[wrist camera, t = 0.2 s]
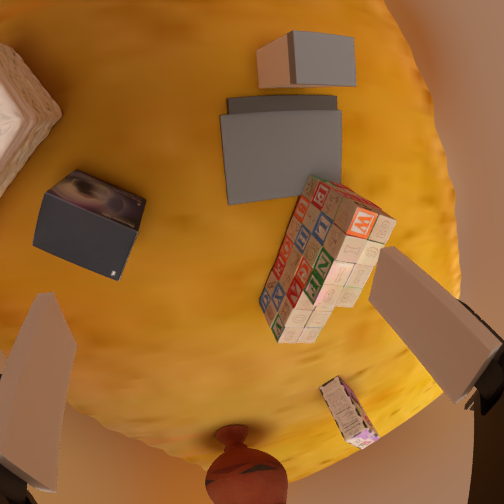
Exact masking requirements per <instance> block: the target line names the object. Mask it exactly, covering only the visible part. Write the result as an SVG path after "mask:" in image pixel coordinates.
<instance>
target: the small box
mask: <svg viewBox="0 0 504 504" xmlns="http://www.w3.org/2000/svg"><path fill="white" fill-rule="evenodd" d="M145 204H146V200H145V199H143V198H140V197H138V196H136V195H134V194H131V193H129V192H127V191H124V190H122V189H120V188H118V187H115V186H113V185H111V184H108V183H106V182H104V181H101V180H99V179H97V178H95V177H92V176H90V175H88V174H85V173H83V172H81V171H78V170H75V171H73V172H72V173H71V174H69V175H68V176H67V177H65V178H64V179H63V180H61V181H60V182H59V183H57V184H56V185H55V186H54V187H52V188H51V189H50V190H48V191H47V192H46V193H45V194H44V197H43V200H42V204H41V208H40V212H39V215H38V220H37V224H36V229H35V234H34V239H33V246H35V247H37V248H39V249H41V250H44V251H46V252H48V253H50V254H53V255H55V256H57V257H60V258H62V259H64V260H67V261H69V262H71V263H74V264H76V265H79V266H81V267H83V268H86V269H88V270H91V271H93V272H96V273H98V274H101V275H103V276H106V277H109V278H111V279H114V280H116V281H119V280H120V278H121V275H122V272H123V270H124V267H125V265H126V262H127V259H128V257H129V255H130V252H131V250H132V247H133V244H134V242H135V240H136V238H137V235H138V231H139V227H140V223H141V219H142V214H143V211H144V207H145Z"/></svg>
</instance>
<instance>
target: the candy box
mask: <svg viewBox="0 0 504 504" xmlns="http://www.w3.org/2000/svg"><path fill="white" fill-rule="evenodd" d="M319 389H320V391H321V393H322V395H323V397H324V399H325V401H326V403H327V405H328V407H329V409H330V411H331V413H332V415H333V417H334V419H335V421H336V424H337V425H338V428H339V430H340V432H341V434H342V436H343V438H344V439H345V441H346V442H348V443H350V444H352V445H354V446H356V447H358V448H360V449H363V448H365V447H367V446H369V445H370V444H372V443H373V442H375V441H376V440H378V439H380V436H379V435H378V433H377V431H376V430H375V428H374V426H373V425H372V423H371V421H370V420H369V418H368V416H367V415H366V413H365V411H364V410H363V408H362V406H361V404H360V403H359V401H358V399H357V398H356V396H355V394H354V392H353V391H352V390H351V389H350V388H349V387H348V386H347V385H346V384H345V383H344V382H343V381H342V379H341V378H340V377H339V376H337V377H335V378H333V379H332V380H330V381H329V382H327V383H325V384H324V385H322V386H320V387H319Z"/></svg>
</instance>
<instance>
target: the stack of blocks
mask: <svg viewBox="0 0 504 504" xmlns="http://www.w3.org/2000/svg"><path fill="white" fill-rule="evenodd" d="M395 224H396V220H395V219H394V218H392V217H391V216H389V215H388V214H386V213H385V212H383V211H382V209H381V208H379V207H378V206H376V205H375V204H373V203H372V202H370V201H368V200H366V199H365V198H363V197H362V196H360V195H358V194H356V193H355V192H354V191H352V190H350V189H349V188H347V187H346V186H343V185H341V184H338V183H335V182H332V181H328V180H325V179H322V178H319V177H316V176H313V175H309V177H308V180H307V182H306V185H305V188H304V190H303V193H302V195H301V196H300V199H299V201H298V204H297V207H296V209H295V212H294V215H293V217H292V219H291V222H290V224H289V227H288V229H287V232H286V237H285V239H284V242H283V244H282V247H281V249H280V253H279V255H278V258H277V260H276V262H275V265H274V267H273V270H272V271H271V273H270V276H269V278H268V281H267V283H266V286H265V288H264V291H263V293H262V296H261V298H260V301H259V303H260V306H261V308H262V310H263V313H264V314H265V318H266V320H267V322H268V325H269V327H270V328H271V330H272V332H273V334H274V336H275V339H276V341H277V343H314V342H315V340H316V338H317V337H318V335H319V333H320V331H321V330H322V328H323V327H324V325H325V323H326V322H327V320H328V318H329V316H330V314H331V312H332V311H333V309H334V307H349V308H352V307H353V306H354V304H355V302H356V300H357V298H358V297H359V295H360V293H361V291H362V289H363V287H364V285H365V283H366V281H367V279H368V277H369V276H370V274H371V272H372V270H373V267H374V266H375V264H376V262H377V260H378V258H379V254H380V249H381V248H384V246H385V244H386V243H387V241H388V239H389V237H390V235H391V233H392V230H393V228H394V226H395Z"/></svg>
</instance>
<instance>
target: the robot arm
mask: <svg viewBox="0 0 504 504" xmlns="http://www.w3.org/2000/svg"><path fill="white" fill-rule="evenodd" d="M369 301H370V303H371V304H372V305H373V306H374V307H375V308H376V309H377V311H378V312H379V313H380V314H381V315H382V316H383V318H384V319H385V320H386V321H387V322H388V323H389V325H390V326H391V327H392V328H393V329H394V331H395V332H396V333H397V334H398V335H399V337H400V338H401V339H402V340H403V341H404V343H405V344H406V345H407V346H408V347H409V349H410V350H411V351H412V352H413V354H414V355H415V356H416V357H417V358H418V360H419V361H420V362H421V363H422V365H423V366H424V367H425V368H426V370H427V371H428V372H429V373H430V375H431V376H432V377H433V379H434V380H435V381H436V382H437V384H438V385H439V386H440V387H441V389H442V390H443V391H444V393H445V394H446V395H447V397H448V398H449V399H450V401H451V402H452V403H453V404H456V403H457V402H459V401H460V400H461V399H463V398H464V397H466V396H467V395H468V393H469V392H470V391H471V389H472V388H473V387H474V386H475V387H476V388H477V390H476V391H475V393H474V394H473V395H472V397H471V398H470V399H469V400H468V402H467V403H466V404H465V409H466V410H467V409H468V407H469V406H470V405H471V404H472V402H473V401H474V404H473V405H472V406H471V408H470V410H474V450H473V464H472V475H471V483H470V491H469V498H468V504H504V340H503V339H502V338H501V337H500V336H499V335H498V334H497V333H496V332H495V331H494V330H492V328H491V327H490V326H489V325H488V324H487V323H485V321H483V320H481V318H480V317H479V316H478V315H477V314H475V313H474V311H473V310H472V309H471V308H470V307H469V306H467V305H466V304H465V303H463V302H461V301H460V300H458V299H456V298H454V297H453V296H452V295H451V294H450V293H449V292H448V291H447V290H446V289H444V288H443V287H442V286H441V285H440V284H439V283H438V282H436V281H435V280H434V279H433V278H432V277H431V276H429V275H428V274H427V273H426V272H425V271H424V270H422V269H421V268H420V267H419V266H418V265H416V264H415V263H414V262H413V261H411V260H410V259H409V258H408V257H407V256H405V255H404V254H403V253H402V252H400V251H399V250H398V249H397V248H395V247H394V246H393V247H386V248H381V249H380V254H379V258H378V263H377V267H376V272H375V276H374V280H373V284H372V288H371V292H370V296H369ZM76 349H77V344H76V342H75V340H74V337H73V335H72V333H71V331H70V329H69V327H68V325H67V323H66V320H65V318H64V316H63V314H62V311H61V309H60V307H59V304H58V302H57V300H56V297H55V295H54V292H49V293H40V294H37V296H36V298H35V300H34V302H33V304H32V306H31V308H30V310H29V312H28V314H27V316H26V318H25V320H24V323H23V325H22V327H21V329H20V331H19V334H18V336H17V338H16V341H15V343H14V345H13V348H12V350H11V353H10V355H9V358H8V361H7V363H6V366H5V369H4V371H3V374H0V504H37V503H36V501H35V499H34V498H33V496H32V495H31V494H30V492H29V491H28V490H27V483H28V484H29V485H31V486H33V487H34V488H36V489H37V490H42V491H47V492H52V493H57V476H58V461H59V449H60V439H61V431H62V423H63V416H64V409H65V403H66V397H67V392H68V386H69V381H70V376H71V371H72V366H73V362H74V357H75V353H76Z"/></svg>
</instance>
